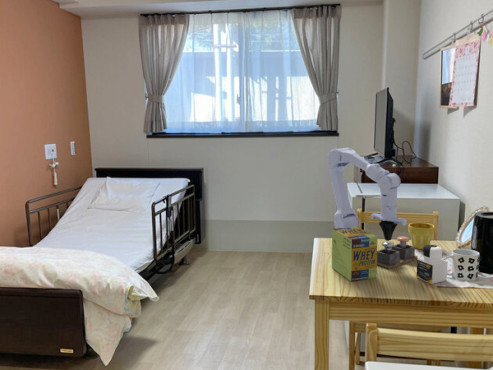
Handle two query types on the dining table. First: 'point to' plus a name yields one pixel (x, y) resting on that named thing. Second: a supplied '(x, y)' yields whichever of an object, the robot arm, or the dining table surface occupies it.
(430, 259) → the medicine bottle
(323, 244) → the dining table surface
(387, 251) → the steel plunger
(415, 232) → the plant pot
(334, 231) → the protein box
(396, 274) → the dining table surface
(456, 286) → the dining table surface
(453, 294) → the dining table surface
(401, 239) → the terracotta plunger
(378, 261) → the wooden cubby shelf
